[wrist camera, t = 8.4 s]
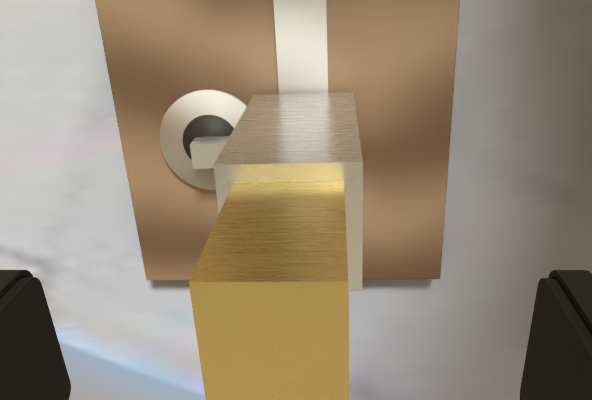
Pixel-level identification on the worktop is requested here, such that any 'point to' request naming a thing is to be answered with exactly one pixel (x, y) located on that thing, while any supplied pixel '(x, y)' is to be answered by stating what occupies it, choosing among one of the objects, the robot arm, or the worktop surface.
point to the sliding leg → (281, 250)
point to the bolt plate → (284, 80)
